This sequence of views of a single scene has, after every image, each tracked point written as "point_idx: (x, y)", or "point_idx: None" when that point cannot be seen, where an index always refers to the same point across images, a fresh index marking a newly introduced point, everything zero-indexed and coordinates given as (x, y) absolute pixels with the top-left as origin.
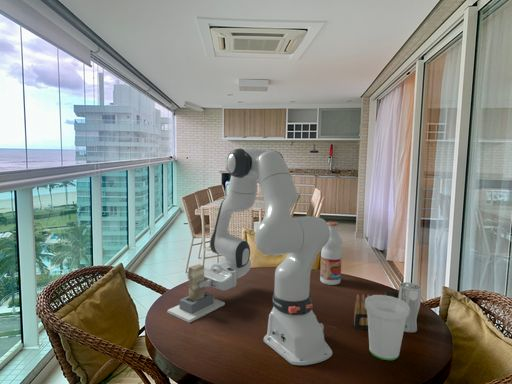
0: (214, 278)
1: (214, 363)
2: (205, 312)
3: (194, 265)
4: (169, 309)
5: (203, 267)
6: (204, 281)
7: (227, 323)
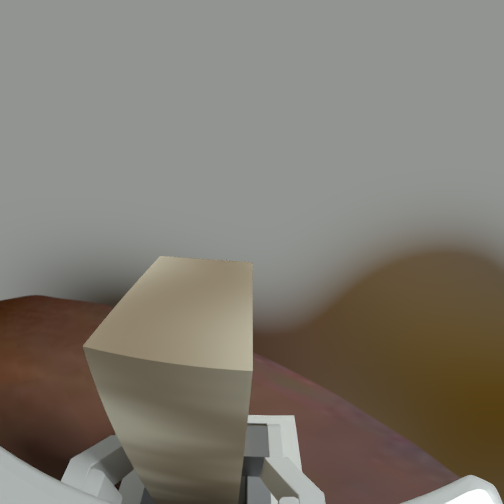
0: (18, 472)
1: (31, 313)
2: (123, 478)
3: (250, 306)
4: (291, 422)
5: (96, 360)
6: (112, 445)
7: (17, 440)
